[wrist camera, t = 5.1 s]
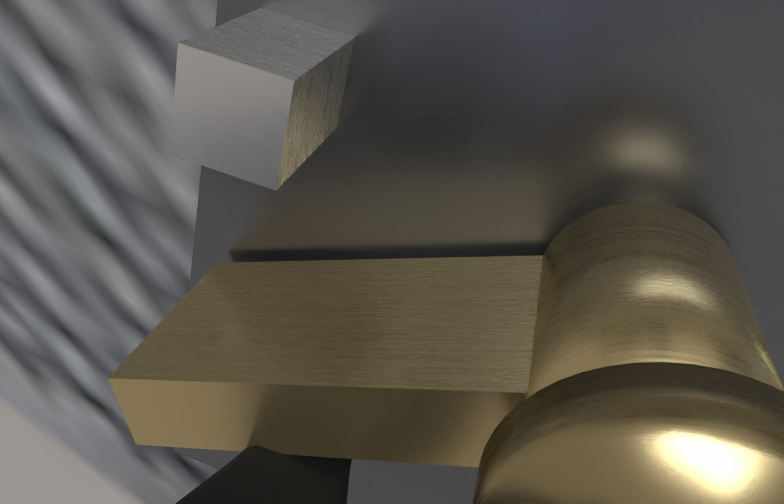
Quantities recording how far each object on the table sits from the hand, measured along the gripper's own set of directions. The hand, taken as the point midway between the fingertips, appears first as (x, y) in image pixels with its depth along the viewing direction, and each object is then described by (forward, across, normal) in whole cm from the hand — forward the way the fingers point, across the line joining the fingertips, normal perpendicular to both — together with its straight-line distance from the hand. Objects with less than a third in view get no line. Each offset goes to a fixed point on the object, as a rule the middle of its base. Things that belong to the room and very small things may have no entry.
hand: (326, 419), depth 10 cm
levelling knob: (+1, -1, -3) cm, 3 cm away
